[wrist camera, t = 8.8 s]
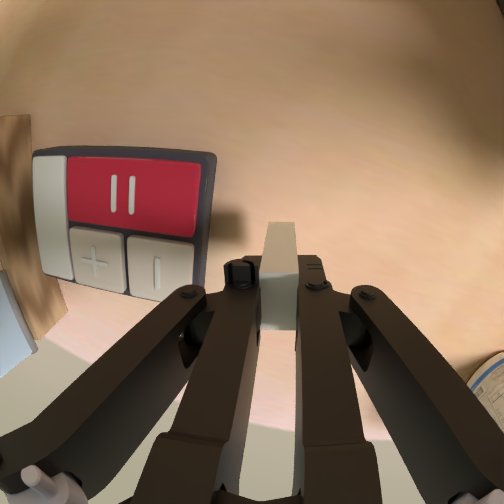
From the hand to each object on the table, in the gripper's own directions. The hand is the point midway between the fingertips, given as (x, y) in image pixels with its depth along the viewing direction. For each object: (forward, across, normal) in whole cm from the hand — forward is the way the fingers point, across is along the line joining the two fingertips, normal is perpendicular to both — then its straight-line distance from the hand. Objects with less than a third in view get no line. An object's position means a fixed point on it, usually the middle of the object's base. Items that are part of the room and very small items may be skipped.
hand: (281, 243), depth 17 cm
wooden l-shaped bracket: (+3, -27, +2) cm, 27 cm away
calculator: (+4, -13, +1) cm, 13 cm away
